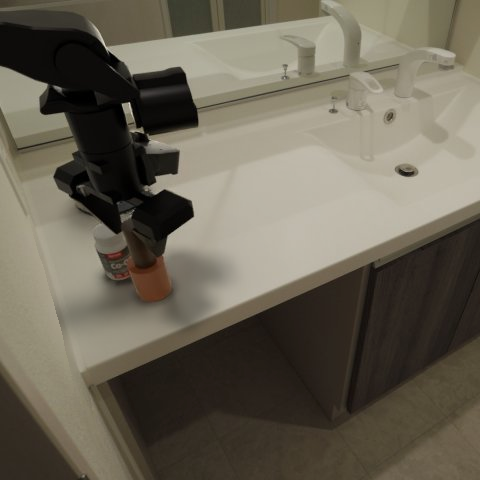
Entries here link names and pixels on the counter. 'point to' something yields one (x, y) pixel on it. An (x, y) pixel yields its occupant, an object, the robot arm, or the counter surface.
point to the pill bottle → (112, 252)
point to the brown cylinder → (137, 247)
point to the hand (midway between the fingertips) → (139, 243)
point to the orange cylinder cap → (151, 280)
